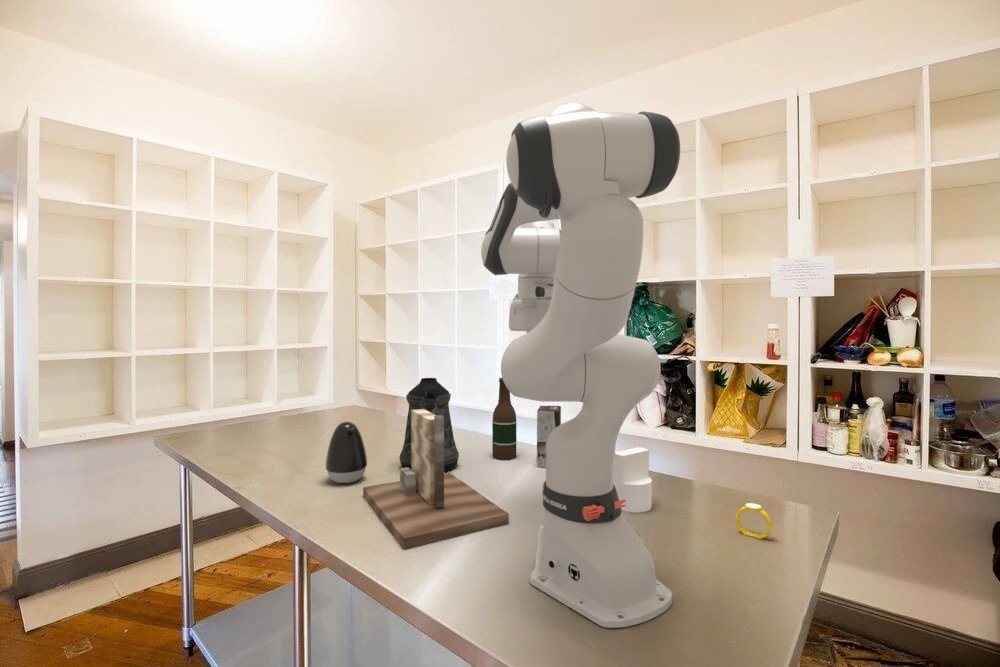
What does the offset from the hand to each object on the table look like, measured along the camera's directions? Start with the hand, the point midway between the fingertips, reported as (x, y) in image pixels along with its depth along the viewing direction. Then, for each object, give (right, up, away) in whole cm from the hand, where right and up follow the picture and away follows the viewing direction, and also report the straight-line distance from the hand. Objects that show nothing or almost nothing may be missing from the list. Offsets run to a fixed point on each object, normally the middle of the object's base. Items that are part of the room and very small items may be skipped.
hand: (536, 351), depth 109 cm
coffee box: (+6, -34, +27) cm, 44 cm away
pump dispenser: (-48, -34, +13) cm, 60 cm away
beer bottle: (-7, -33, +34) cm, 48 cm away
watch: (+40, -35, -19) cm, 56 cm away
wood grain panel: (-24, -32, -4) cm, 40 cm away
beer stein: (-28, -34, +23) cm, 49 cm away
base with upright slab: (+21, -35, -3) cm, 40 cm away
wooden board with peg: (-24, -34, -6) cm, 42 cm away
